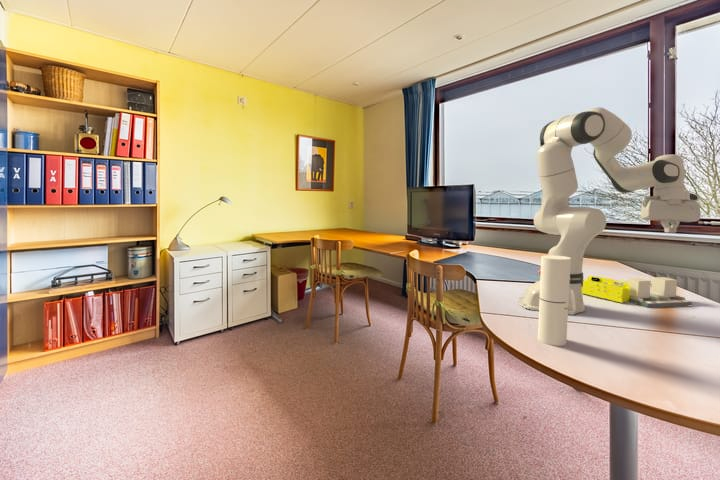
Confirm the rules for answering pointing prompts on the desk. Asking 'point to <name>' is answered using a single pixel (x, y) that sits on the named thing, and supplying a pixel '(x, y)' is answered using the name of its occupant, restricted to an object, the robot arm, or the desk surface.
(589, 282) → the yellow toy chassis
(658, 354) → the desk surface
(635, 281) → the button
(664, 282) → the button
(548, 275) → the cylindrical container
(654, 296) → the button board
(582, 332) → the desk surface
